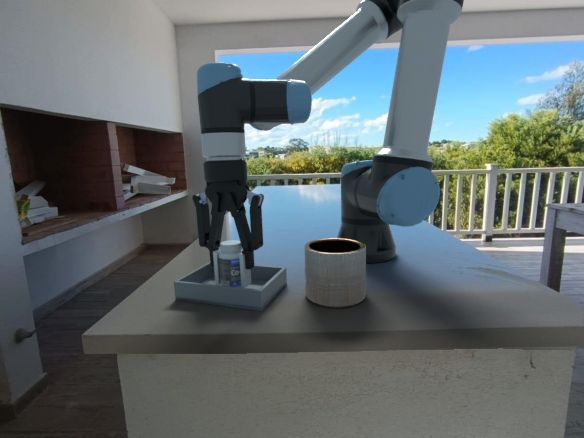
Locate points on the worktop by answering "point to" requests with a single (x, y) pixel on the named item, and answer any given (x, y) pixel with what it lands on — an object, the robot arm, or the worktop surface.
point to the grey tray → (232, 288)
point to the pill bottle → (230, 263)
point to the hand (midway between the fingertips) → (233, 283)
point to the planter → (335, 272)
